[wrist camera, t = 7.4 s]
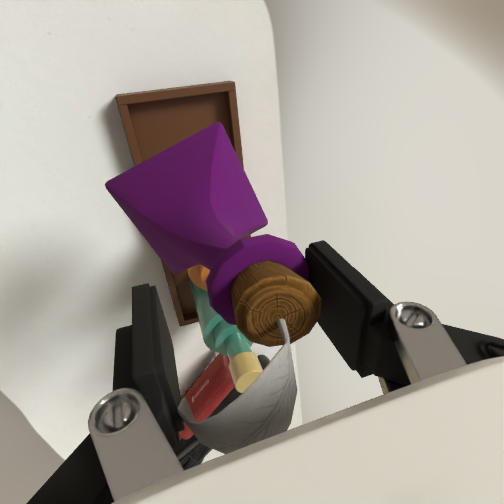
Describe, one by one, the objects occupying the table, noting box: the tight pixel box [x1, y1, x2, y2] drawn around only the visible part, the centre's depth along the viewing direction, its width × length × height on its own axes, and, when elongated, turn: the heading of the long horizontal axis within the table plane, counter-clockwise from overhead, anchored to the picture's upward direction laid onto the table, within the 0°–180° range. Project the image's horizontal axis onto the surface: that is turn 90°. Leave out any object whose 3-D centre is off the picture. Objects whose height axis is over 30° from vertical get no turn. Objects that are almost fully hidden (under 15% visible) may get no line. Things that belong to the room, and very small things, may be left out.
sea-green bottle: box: [189, 277, 263, 393], centre depth 38 cm, size 6×6×18 cm
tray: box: [116, 81, 251, 327], centre depth 40 cm, size 30×12×2 cm, turn 5°
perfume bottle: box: [105, 122, 321, 454], centre depth 16 cm, size 8×8×18 cm
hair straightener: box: [174, 353, 270, 471], centre depth 57 cm, size 16×40×8 cm, turn 145°
